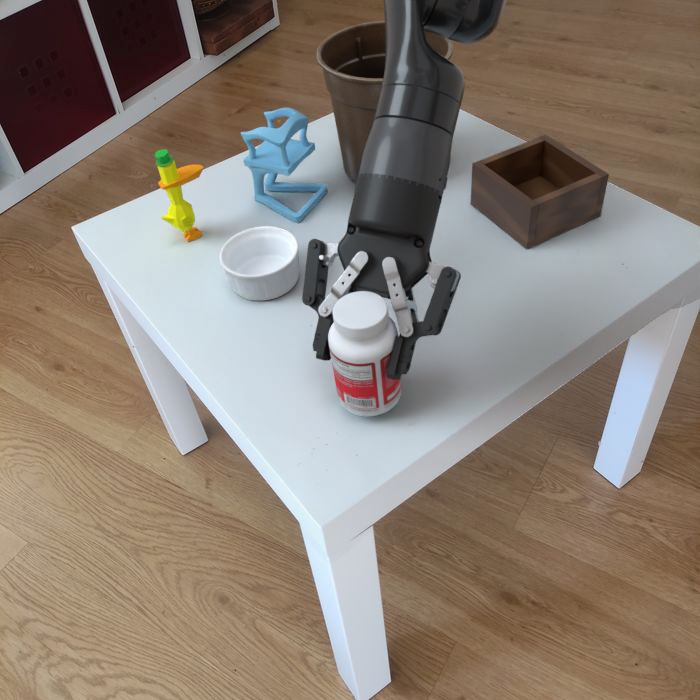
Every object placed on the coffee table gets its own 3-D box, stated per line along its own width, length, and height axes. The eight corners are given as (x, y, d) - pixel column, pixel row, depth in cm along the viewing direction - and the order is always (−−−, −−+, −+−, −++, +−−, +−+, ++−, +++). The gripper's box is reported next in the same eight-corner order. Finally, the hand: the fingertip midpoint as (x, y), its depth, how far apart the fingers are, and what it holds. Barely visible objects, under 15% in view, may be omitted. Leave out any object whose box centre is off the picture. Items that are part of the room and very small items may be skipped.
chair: (276, 178, 98) (260, 94, 89) (329, 190, 94) (319, 104, 86) (244, 209, 93) (225, 124, 84) (299, 223, 90) (285, 136, 81)
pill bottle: (387, 362, 71) (380, 276, 63) (412, 406, 67) (408, 320, 59) (328, 382, 70) (313, 297, 62) (350, 427, 66) (337, 343, 58)
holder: (540, 175, 93) (545, 134, 89) (600, 216, 86) (609, 174, 82) (470, 204, 90) (472, 163, 85) (526, 249, 83) (531, 207, 78)
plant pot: (474, 156, 97) (480, 36, 86) (401, 215, 89) (396, 91, 78) (380, 124, 105) (374, 10, 94) (305, 175, 97) (288, 58, 86)
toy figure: (211, 218, 92) (188, 133, 84) (224, 230, 90) (202, 144, 82) (163, 239, 90) (134, 154, 81) (176, 253, 88) (147, 167, 79)
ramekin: (287, 310, 79) (281, 280, 76) (214, 299, 81) (205, 269, 78) (314, 260, 85) (309, 230, 81) (244, 251, 87) (237, 221, 84)
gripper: (309, 158, 61) (267, 349, 63) (473, 185, 56) (423, 392, 58) (341, 179, 68) (303, 350, 70) (489, 204, 63) (445, 388, 65)
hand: (358, 368), depth 64 cm, fingers closed on pill bottle, 6 cm apart
